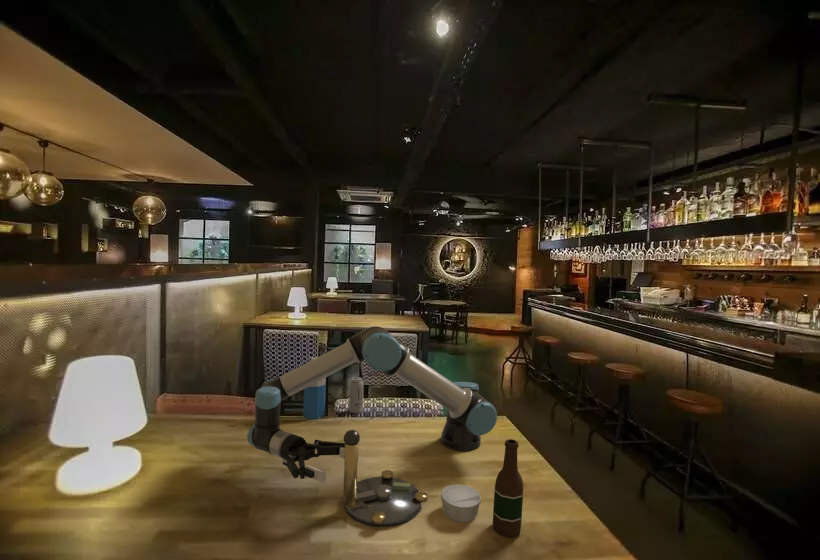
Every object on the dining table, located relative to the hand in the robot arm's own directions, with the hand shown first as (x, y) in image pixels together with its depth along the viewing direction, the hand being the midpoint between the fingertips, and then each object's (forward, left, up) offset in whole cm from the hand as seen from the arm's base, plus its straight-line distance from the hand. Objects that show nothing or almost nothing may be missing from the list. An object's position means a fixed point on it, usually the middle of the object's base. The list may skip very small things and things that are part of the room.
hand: (341, 467), depth 122 cm
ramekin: (-33, -2, -12) cm, 36 cm away
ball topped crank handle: (-7, -2, -10) cm, 12 cm away
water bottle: (+26, -66, -12) cm, 72 cm away
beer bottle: (-45, +4, -12) cm, 47 cm away
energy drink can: (+9, -73, -12) cm, 75 cm away
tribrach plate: (-11, -4, -12) cm, 17 cm away
